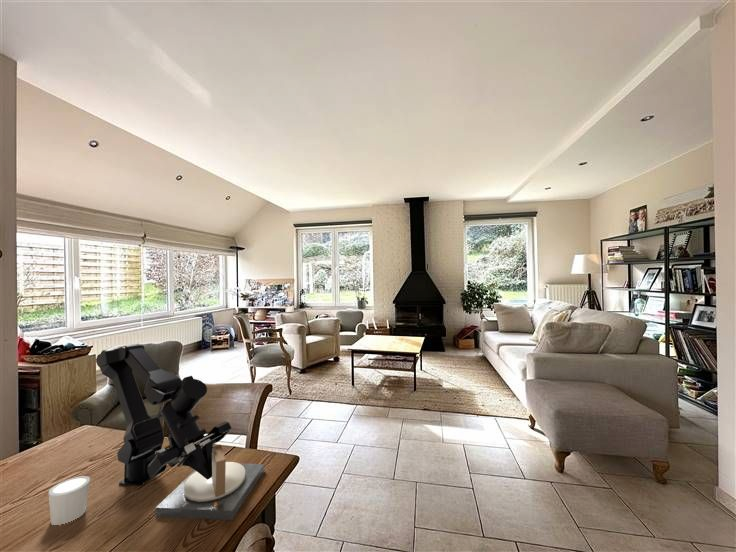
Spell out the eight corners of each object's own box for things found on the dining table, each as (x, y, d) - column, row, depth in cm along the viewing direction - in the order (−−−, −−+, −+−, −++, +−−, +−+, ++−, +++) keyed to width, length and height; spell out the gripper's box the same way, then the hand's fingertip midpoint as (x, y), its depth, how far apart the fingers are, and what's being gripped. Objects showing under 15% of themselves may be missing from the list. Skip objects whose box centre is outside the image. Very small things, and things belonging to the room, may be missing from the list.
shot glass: (62, 530, 64) (63, 497, 65) (38, 525, 66) (39, 492, 66) (96, 507, 71) (98, 477, 71) (74, 503, 72) (75, 473, 73)
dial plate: (155, 516, 68) (155, 507, 68) (203, 469, 86) (203, 461, 86) (231, 520, 67) (231, 510, 67) (263, 471, 85) (264, 463, 85)
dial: (182, 477, 79) (183, 441, 79) (239, 460, 87) (240, 428, 87) (185, 513, 66) (186, 470, 67) (251, 489, 74) (252, 451, 74)
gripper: (198, 424, 86) (224, 473, 81) (124, 458, 69) (152, 523, 64) (218, 401, 83) (247, 451, 79) (147, 430, 66) (177, 496, 61)
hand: (209, 478), depth 71 cm, fingers closed
